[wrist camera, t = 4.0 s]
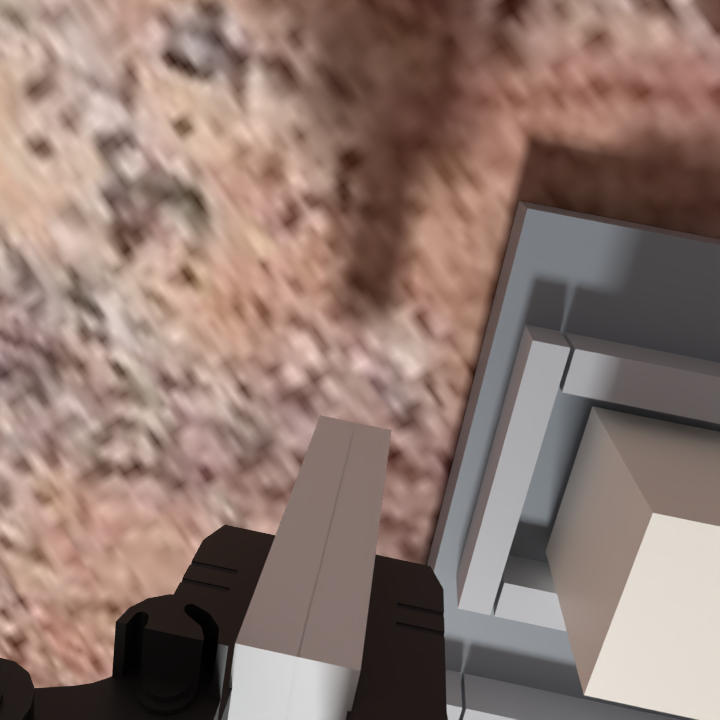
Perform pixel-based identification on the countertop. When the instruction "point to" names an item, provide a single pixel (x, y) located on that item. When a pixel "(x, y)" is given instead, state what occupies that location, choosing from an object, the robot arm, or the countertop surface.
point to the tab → (642, 563)
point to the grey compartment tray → (560, 438)
